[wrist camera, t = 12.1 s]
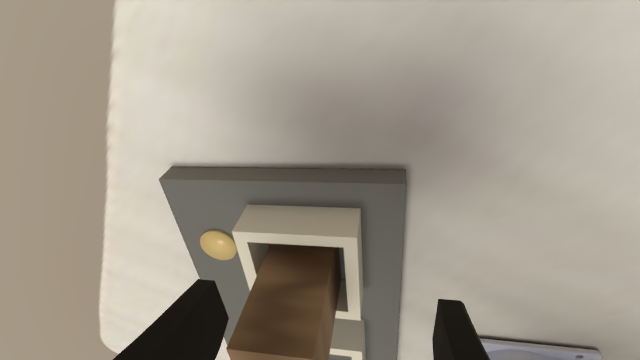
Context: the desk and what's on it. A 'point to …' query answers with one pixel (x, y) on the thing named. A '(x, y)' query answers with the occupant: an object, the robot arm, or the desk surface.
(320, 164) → the desk surface
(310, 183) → the socket board
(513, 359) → the robot arm
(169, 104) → the desk surface
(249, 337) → the walnut peg
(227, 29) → the desk surface
